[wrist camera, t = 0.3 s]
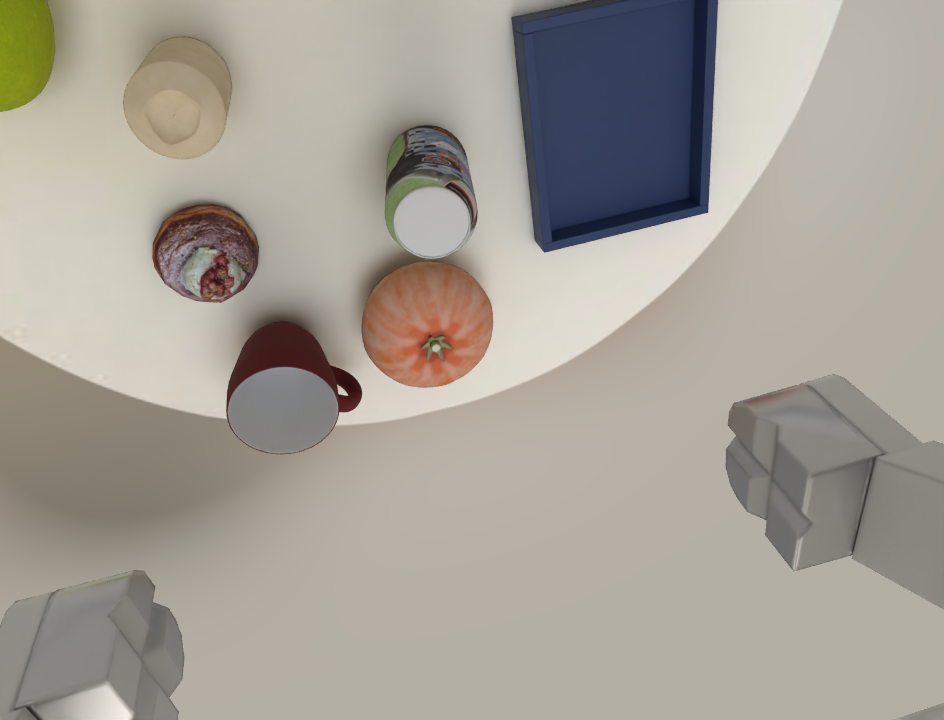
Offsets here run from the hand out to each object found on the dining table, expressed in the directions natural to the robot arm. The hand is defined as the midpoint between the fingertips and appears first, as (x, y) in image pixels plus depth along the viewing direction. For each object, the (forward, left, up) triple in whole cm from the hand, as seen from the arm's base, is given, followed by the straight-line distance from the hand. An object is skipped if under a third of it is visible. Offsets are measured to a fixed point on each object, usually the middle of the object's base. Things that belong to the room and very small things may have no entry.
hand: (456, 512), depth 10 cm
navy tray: (+11, +21, -47) cm, 53 cm away
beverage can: (+11, +5, -47) cm, 49 cm away
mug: (+24, -8, -47) cm, 53 cm away
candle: (+2, -9, -47) cm, 48 cm away
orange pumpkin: (+23, +3, -47) cm, 53 cm away
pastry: (+14, -12, -47) cm, 50 cm away
